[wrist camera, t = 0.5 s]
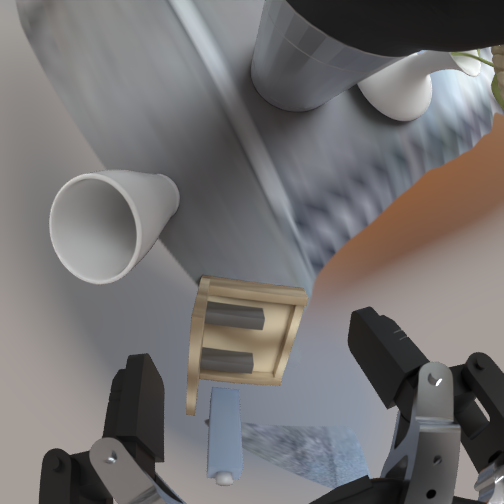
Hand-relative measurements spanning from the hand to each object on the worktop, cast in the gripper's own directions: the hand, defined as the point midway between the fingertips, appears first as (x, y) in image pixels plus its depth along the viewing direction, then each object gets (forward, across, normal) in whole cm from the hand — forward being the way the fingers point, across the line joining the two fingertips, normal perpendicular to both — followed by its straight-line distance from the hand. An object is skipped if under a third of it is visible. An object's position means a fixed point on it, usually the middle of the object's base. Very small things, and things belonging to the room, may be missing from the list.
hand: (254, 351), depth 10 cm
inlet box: (+19, -1, +16) cm, 24 cm away
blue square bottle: (+18, +4, +28) cm, 33 cm away
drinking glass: (+22, +6, -2) cm, 23 cm away
